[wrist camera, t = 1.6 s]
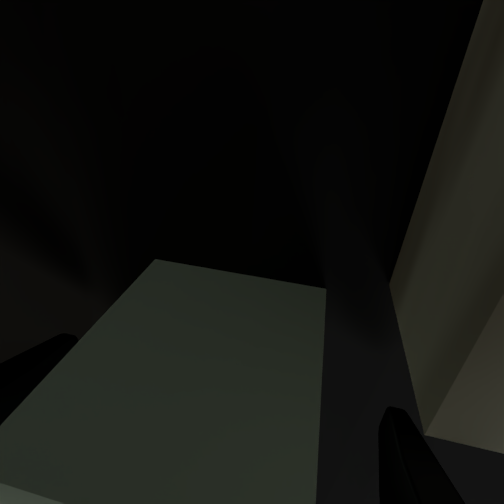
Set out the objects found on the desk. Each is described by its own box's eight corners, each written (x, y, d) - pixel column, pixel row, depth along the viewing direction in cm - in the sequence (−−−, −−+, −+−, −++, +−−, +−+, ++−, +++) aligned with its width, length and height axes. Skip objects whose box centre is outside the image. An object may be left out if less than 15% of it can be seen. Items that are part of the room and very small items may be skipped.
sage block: (326, 288, 9) (311, 583, 4) (301, 403, 11) (273, 671, 6) (155, 258, 10) (-42, 470, 5) (168, 372, 12) (49, 588, 7)
